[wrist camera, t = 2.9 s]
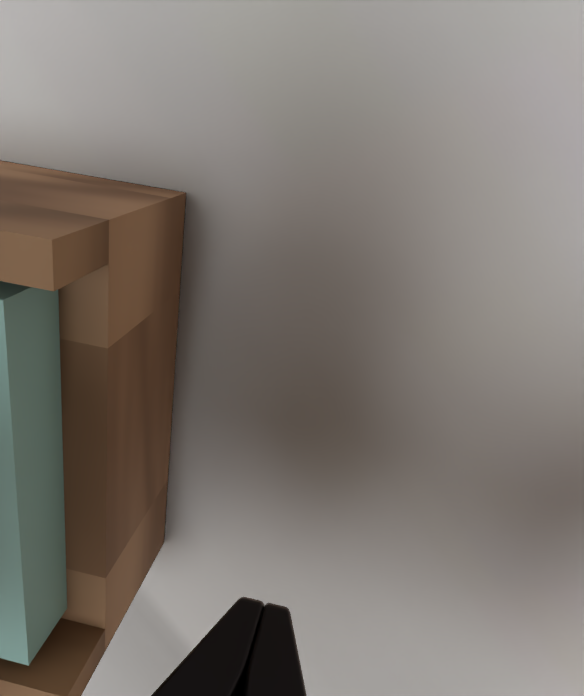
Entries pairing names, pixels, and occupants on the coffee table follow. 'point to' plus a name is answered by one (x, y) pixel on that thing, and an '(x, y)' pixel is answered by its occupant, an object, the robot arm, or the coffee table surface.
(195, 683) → the robot arm
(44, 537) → the cover plate
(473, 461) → the coffee table surface
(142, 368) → the brown wooden box
